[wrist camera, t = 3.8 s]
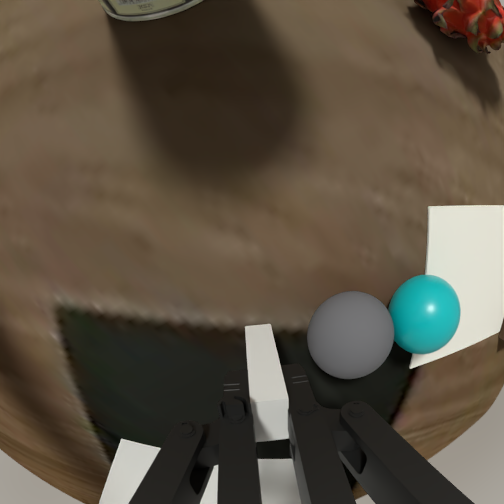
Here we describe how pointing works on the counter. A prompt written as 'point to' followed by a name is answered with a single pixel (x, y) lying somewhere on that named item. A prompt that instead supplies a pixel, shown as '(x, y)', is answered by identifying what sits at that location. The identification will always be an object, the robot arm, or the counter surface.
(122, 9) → the coffee can
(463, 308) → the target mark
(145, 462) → the white v-notch block
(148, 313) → the counter surface
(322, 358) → the gray ball
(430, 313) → the teal ball
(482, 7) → the dragon fruit
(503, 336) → the stopper wall
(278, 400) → the robot arm
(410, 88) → the counter surface
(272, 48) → the counter surface
